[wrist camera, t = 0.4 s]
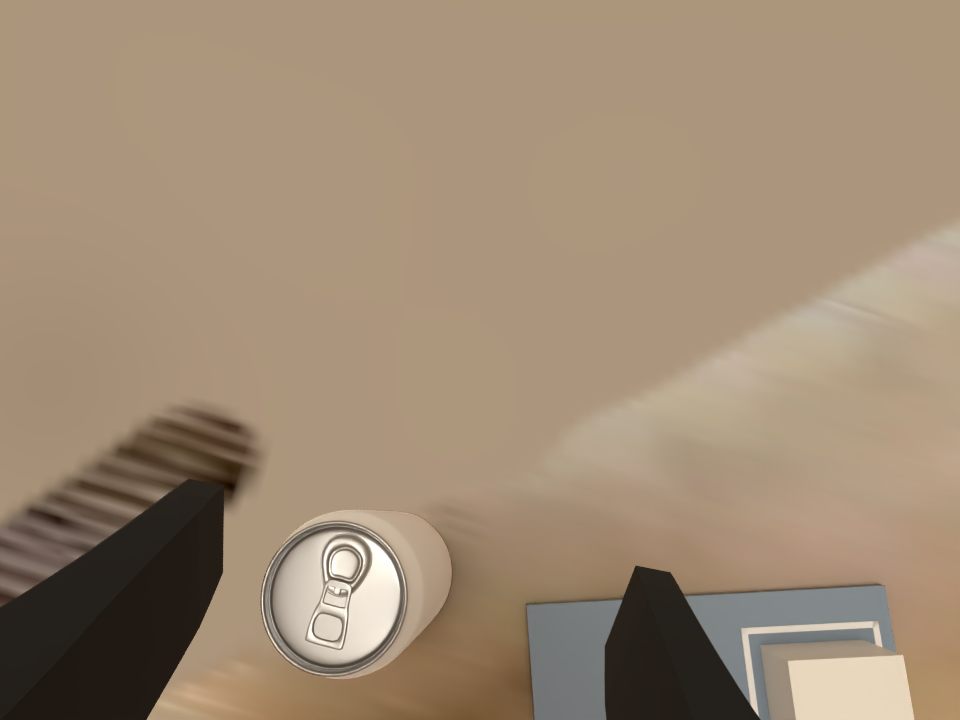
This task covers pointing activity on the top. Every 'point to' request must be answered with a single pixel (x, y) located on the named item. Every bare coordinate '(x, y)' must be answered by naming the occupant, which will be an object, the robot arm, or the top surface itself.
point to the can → (354, 590)
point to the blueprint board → (725, 619)
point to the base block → (835, 681)
